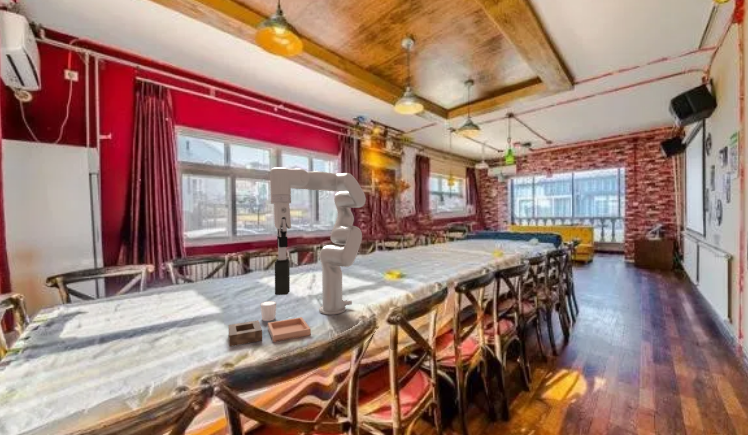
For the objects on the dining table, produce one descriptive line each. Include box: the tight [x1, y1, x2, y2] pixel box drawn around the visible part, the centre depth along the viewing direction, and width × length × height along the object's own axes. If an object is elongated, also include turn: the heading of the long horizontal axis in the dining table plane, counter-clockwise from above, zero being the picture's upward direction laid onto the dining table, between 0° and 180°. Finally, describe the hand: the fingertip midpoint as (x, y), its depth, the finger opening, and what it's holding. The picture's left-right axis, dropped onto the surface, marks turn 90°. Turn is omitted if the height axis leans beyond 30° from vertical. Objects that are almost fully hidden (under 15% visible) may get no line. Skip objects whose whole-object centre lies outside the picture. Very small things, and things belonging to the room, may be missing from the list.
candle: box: [274, 239, 291, 296], centre depth 121 cm, size 5×5×25 cm
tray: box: [267, 316, 312, 343], centre depth 123 cm, size 14×14×2 cm
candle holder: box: [228, 319, 263, 347], centre depth 117 cm, size 11×11×4 cm
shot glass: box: [260, 300, 277, 322], centre depth 138 cm, size 7×7×7 cm
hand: (282, 246), depth 121 cm, fingers closed on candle, 2 cm apart
